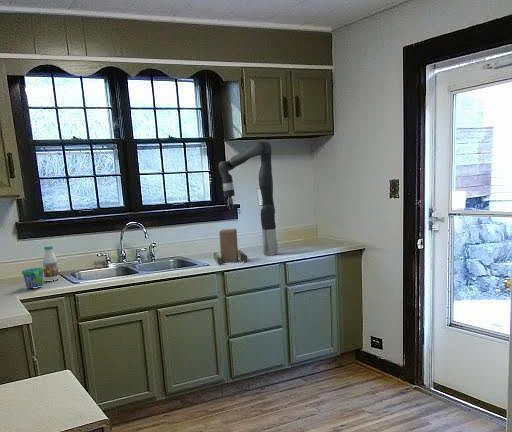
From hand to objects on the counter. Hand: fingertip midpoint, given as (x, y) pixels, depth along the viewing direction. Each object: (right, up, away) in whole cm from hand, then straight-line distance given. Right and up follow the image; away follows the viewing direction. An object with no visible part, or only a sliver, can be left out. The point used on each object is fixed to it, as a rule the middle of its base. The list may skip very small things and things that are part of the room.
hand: (232, 214), depth 323 cm
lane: (0, -30, -25) cm, 39 cm away
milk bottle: (-101, -39, -55) cm, 121 cm away
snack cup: (-103, -40, -73) cm, 132 cm away
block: (0, -30, -27) cm, 40 cm away
